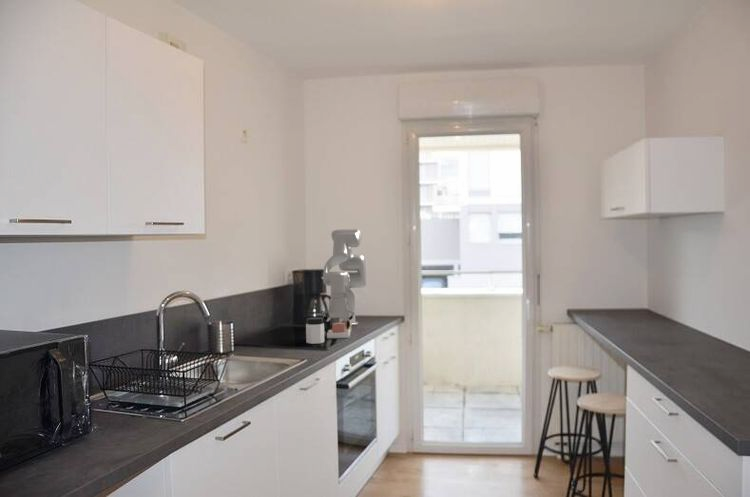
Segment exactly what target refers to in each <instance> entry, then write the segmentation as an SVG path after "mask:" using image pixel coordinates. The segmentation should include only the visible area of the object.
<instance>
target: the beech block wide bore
mask: <svg viewBox="0 0 750 497" xmlns="http://www.w3.org/2000/svg"><path fill="white" fill-rule="evenodd" d="M339 322H340V323H345V330H350V333H352V325H351V320H350V327H349V328H348V329H347V321H343V320H340V319H339Z"/></svg>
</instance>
